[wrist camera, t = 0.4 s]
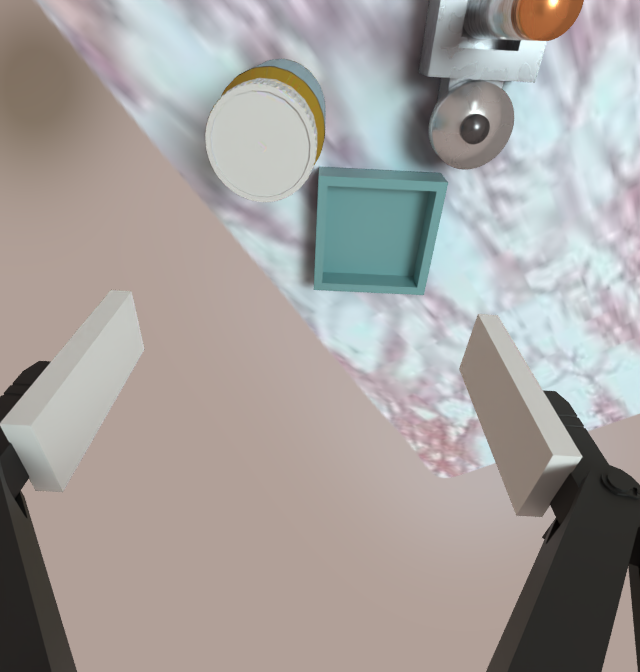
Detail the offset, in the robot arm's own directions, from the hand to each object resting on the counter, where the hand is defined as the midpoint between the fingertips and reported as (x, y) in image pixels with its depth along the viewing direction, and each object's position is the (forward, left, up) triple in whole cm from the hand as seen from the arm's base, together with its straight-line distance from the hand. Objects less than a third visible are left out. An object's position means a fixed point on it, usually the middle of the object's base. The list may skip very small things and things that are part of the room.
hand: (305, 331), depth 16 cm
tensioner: (-8, +12, -26) cm, 30 cm away
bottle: (-4, -3, -27) cm, 27 cm away
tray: (+6, +6, -26) cm, 28 cm away
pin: (-11, +12, -25) cm, 30 cm away
